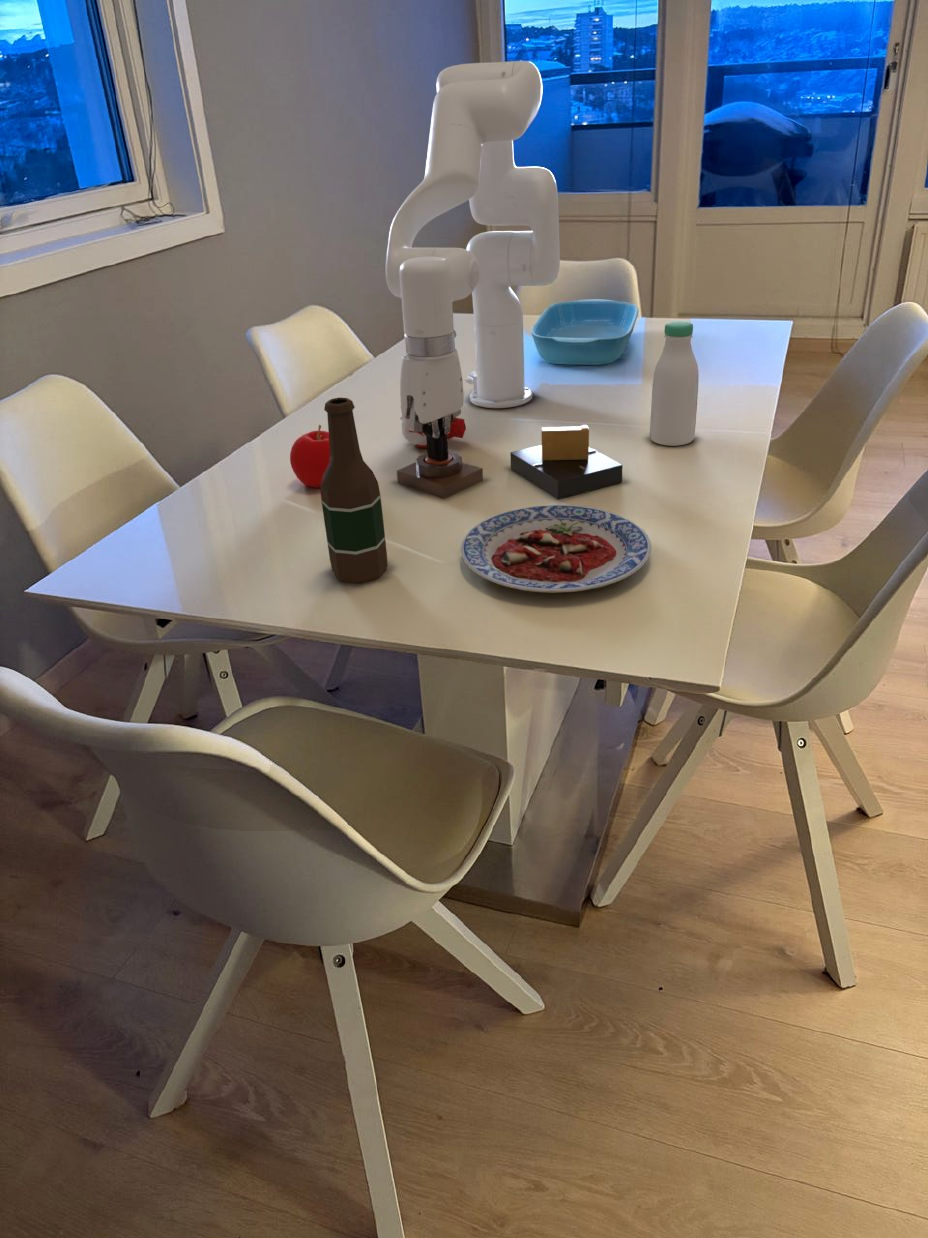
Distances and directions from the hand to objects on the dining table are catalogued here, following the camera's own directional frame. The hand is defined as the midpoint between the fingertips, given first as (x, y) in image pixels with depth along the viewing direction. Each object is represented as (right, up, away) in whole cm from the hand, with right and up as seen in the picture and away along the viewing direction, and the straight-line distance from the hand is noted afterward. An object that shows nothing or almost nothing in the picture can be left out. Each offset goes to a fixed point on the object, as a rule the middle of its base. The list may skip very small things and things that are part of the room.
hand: (438, 458), depth 152 cm
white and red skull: (-2, +6, +18) cm, 19 cm away
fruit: (-20, -4, +5) cm, 20 cm away
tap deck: (+21, -3, +2) cm, 21 cm away
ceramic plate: (+17, -18, -23) cm, 34 cm away
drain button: (0, -1, +1) cm, 2 cm away
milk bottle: (+41, +5, +13) cm, 43 cm away
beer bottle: (-10, -20, -23) cm, 32 cm away
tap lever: (+21, 0, 0) cm, 21 cm away
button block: (0, -4, +2) cm, 4 cm away
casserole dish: (+33, +37, +66) cm, 82 cm away
